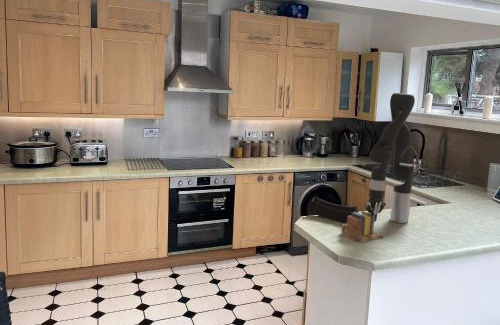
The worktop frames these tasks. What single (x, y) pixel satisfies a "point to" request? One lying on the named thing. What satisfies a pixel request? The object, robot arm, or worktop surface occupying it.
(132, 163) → the worktop surface
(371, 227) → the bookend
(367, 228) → the book
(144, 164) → the worktop surface
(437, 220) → the worktop surface
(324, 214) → the magazine
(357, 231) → the shelf
